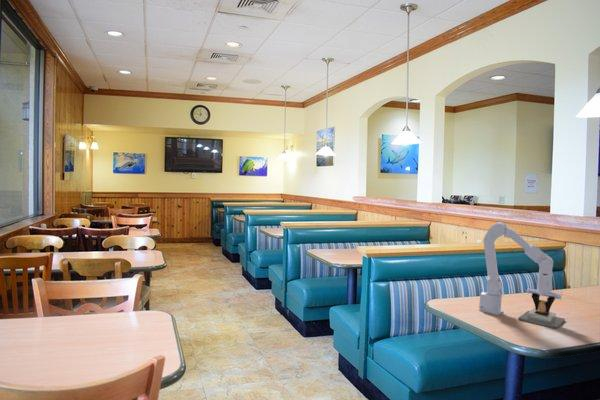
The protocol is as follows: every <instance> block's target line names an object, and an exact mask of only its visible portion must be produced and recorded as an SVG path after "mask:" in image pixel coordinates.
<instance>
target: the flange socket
mask: <svg viewBox="0 0 600 400" xmlns="http://www.w3.org/2000/svg"><path fill="white" fill-rule="evenodd" d="M517 320H518V321H521V322H525V323H530V324H535V325H539V326H542V327H547V328H551V329H555V330H557V329H558V328H559V327H560V326H562V324H564V322H565V321H566V318H564V317H560V316H559V317H558V316H557V313H556V312H552V311H549V313H547V316H546V315H541V314H537V310H536V309H535V308H532V309H531V310H527V311H526V312H524V313H523V314H521V315H520V316H518V318H517Z"/></svg>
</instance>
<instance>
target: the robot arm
mask: <svg viewBox="0 0 600 400" xmlns="http://www.w3.org/2000/svg"><path fill="white" fill-rule="evenodd" d="M503 235H504V236H503ZM502 236H503V238H509V239H511V240H512V241H514V242H515V243H516V244H517V245H519V247H521V248H523V250H524V255H526V256H527V257H528V258H530V259H531V260H532V261H533V262H534V263H535V264H536V263H537V264H538V267H539V268H538V269H539V271H538V273H537V274H538V275H537V284H536V289H535V288H526V290H525V291H526V294H531V298H532V301H533V303H534V309H536V310H537V307H538V300H540V296H543V297H547V298H546V301H547V310H546V313H549V312H550V311H551V307H552V306H553V305H552V304H554V302H555V300H556V299H557V300H562V299H563V298H562V297H563V295H562V294H559V293H556V292H553V291H552V285H553V283H552V281H553V268H554V260H553V258H552V257H551V256H549V255H548V254H547V253H546V252H545V253H544V251H542V250H541V249H540V247H539V246H538V245H535V244H530V243H529V242H528V241H527V240H525V239H524V238H523V237H522V236H521V235H520V234H518V233H517V232H516V230H515V229H513V228H512V227H510V226H509V225H507V224H506V223H505V222H503V221H498V222H496V223H493V224H492V225H491V226H490V227H489V228H488V230H487V232H486V233H485V235H484V237H483V241H482V242H483V249H484V257H485V265H486V273H487V279H486V281H487V282H486V283H487V284H486V286H485V290H486V291H485V292H484V291H482V292H480V295H479V306H478V307H479V308H478V311H479V312H483V313H488V314H492V315H497V316H499V315H501V314H502V313H504V310H501V308H502V300H503V299H502V297H503V294H502V292H501V290H503V289H502V288H503V282H502V281H501V278H500V275H499V271H498V263H497V253H496V244H495V242H496V241H497V239H499V238H500V237H502Z"/></svg>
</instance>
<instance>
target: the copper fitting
mask: <svg viewBox="0 0 600 400" xmlns="http://www.w3.org/2000/svg"><path fill="white" fill-rule="evenodd" d="M546 310H547V300H544V299H539V300H538V307H537V314H541V315H546V316H547V313H546Z"/></svg>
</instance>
